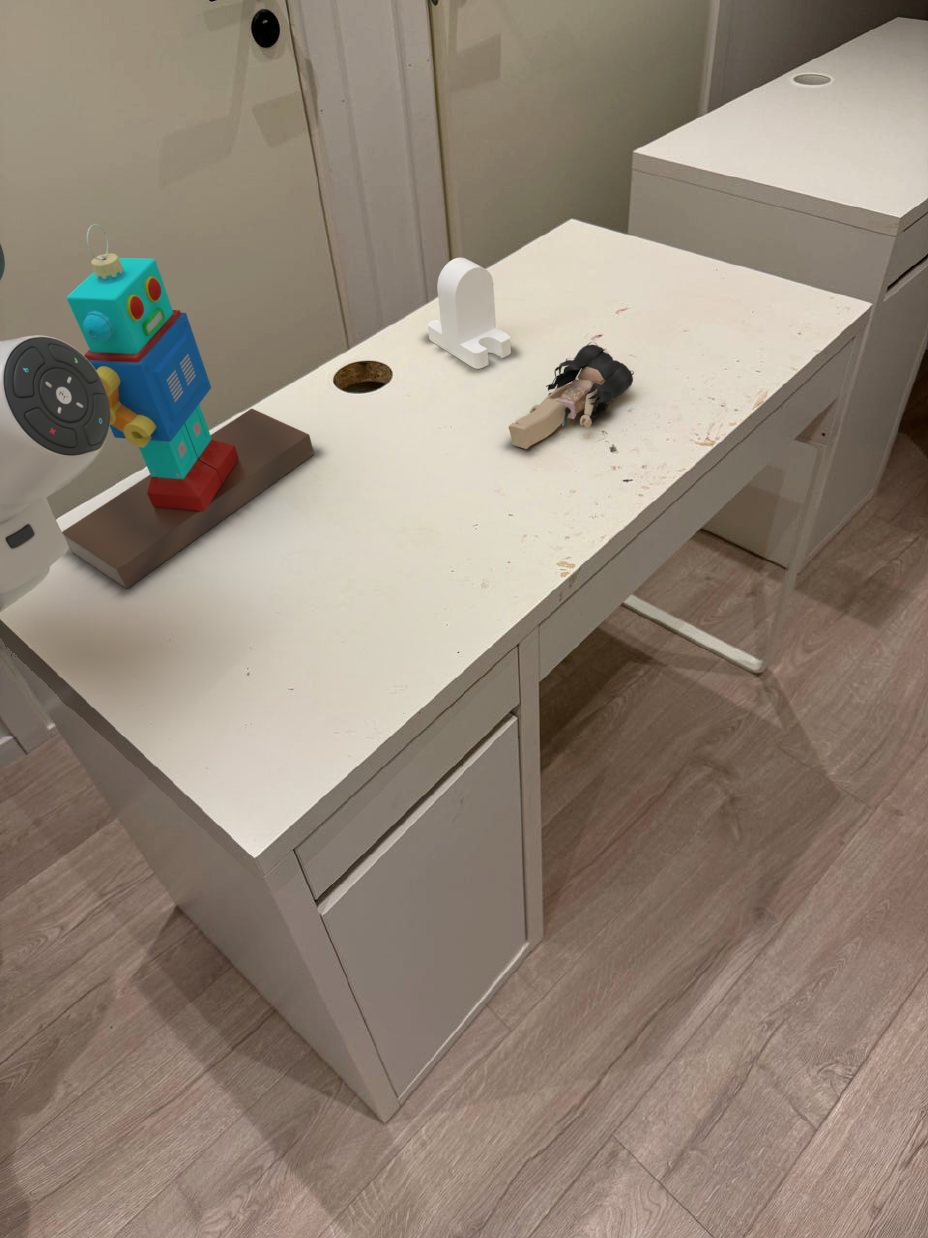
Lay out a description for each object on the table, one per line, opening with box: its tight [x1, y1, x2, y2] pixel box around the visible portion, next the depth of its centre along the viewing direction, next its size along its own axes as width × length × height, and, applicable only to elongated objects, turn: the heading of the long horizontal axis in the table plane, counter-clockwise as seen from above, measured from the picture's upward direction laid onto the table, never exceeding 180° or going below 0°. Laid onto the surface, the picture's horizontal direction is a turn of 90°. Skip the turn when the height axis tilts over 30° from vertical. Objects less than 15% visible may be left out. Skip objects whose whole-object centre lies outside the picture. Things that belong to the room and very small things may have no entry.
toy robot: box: [66, 223, 239, 512], centre depth 77 cm, size 12×6×25 cm, turn 167°
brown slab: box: [62, 408, 315, 590], centre depth 87 cm, size 24×9×2 cm, turn 141°
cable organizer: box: [427, 257, 512, 370], centre depth 101 cm, size 5×10×10 cm, turn 37°
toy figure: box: [508, 341, 635, 450], centre depth 91 cm, size 7×6×15 cm
